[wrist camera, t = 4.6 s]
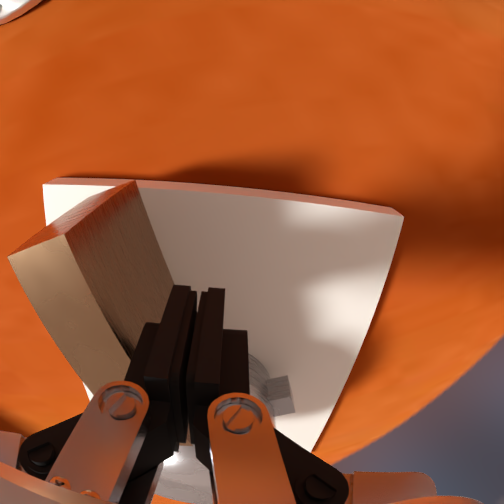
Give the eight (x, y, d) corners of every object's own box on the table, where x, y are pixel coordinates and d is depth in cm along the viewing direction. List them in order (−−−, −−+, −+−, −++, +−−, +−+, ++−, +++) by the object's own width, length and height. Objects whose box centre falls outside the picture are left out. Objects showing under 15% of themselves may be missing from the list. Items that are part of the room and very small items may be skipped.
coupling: (297, 409, 20) (312, 493, 14) (161, 427, 20) (148, 503, 14) (227, 149, 12) (213, 186, 6) (37, 217, 13) (-48, 281, 7)
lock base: (57, 177, 14) (41, 184, 13) (391, 207, 16) (405, 217, 14) (114, 437, 24) (110, 450, 23) (301, 452, 26) (303, 466, 24)
